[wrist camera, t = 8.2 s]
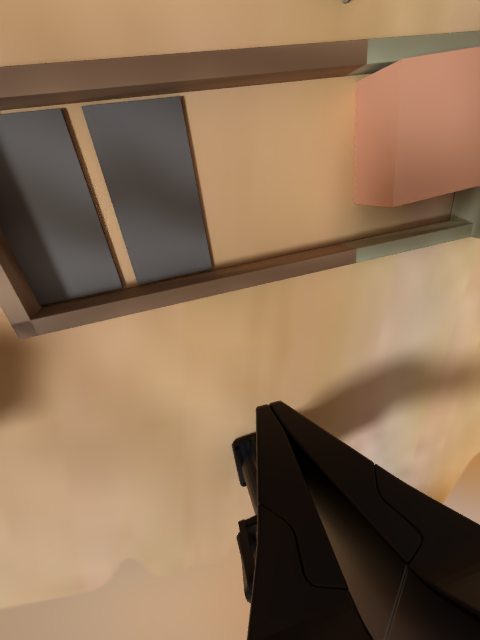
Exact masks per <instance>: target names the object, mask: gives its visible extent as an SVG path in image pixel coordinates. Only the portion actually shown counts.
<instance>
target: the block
mask: <svg viewBox="0 0 480 640" xmlns="http://www.w3.org/2000/svg"><path fill="white" fill-rule="evenodd" d="M476 186H480V46H479V47H473V48H467V49H460V50H454V51H448V52H442V53H435V54H429V55H423V56H417V57H410V58H404V59H401V60H399V61H397V62H395V63H393V64H391V65H389V66H387V67H385V68H383V69H381V70H379V71H377V72H375V73H373V74H371V75H369V76H367V77H365V78H363V79H361V80H359V81H357V82H356V110H355V204H363V205H373V206H383V207H396V206H400V205H404V204H408V203H412V202H416V201H420V200H424V199H428V198H432V197H436V196H440V195H444V194H448V193H452V192H456V191H460V190H464V189H468V188H472V187H476Z"/></svg>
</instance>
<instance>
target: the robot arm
mask: <svg viewBox="0 0 480 640" xmlns="http://www.w3.org/2000/svg"><path fill="white" fill-rule="evenodd" d="M232 448H233V453H234V458H235V462H236V467H237V471H238V476H239V481H240V484H241V486H243V487H244V486H247V488H248V492H249V495H250V498H251V501H252V505H253V508H254V511H255V516H253V517H251V518H249V519H246V520H244V519H243V520H241V521H239V522H238V524H239V529H240V532H239V533H238V535H237V541H238V545H239V549H240V554H241V560H242V569H243V581H244V592H245V596H246V599H247V601H248V602H249V603H251V608H250V617H249V626H248V636H247V640H480V525H479V524H477V523H476V522H474V521H472V520H470V519H468V518H467V517H465V516H463V515H461V514H459V513H458V512H456V511H454V510H452V509H450V508H448V507H447V506H445V505H443V504H441V503H440V502H438V501H436V500H434V499H432V498H431V497H429V496H427V495H425V494H424V493H422V492H420V491H418V490H417V489H415V488H413V487H411V486H410V485H408V484H406V483H405V482H403V481H402V480H400V479H399V478H397V477H395V476H394V475H392V474H391V473H389V472H388V471H386V470H385V469H383V468H381V467H380V466H378V465H377V464H375V465H374V463H373V462H372V461H371V460H369V459H368V458H366V457H365V456H363V455H362V454H360V453H359V452H357V451H356V450H354V449H353V448H351V447H350V446H348V445H347V444H345V443H344V442H342V441H341V440H339V439H338V438H336V437H335V436H333V435H332V434H330V433H329V432H327V431H326V430H324V429H323V428H321V427H320V426H318V425H316V424H315V423H313V422H312V421H310V420H309V419H307V418H306V417H304V416H303V415H301V414H300V413H298V412H297V411H295V410H294V409H292V408H291V407H289V406H288V405H286V404H285V403H283V402H282V401H276V402H273V403H270V404H269V405H267V404H266V405H262V406H258V407H257V408H256V435H253V436H249V437H246V438H243V439H240V440H237V441H235V442H233V444H232Z"/></svg>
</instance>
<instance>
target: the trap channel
mask: <svg viewBox="0 0 480 640" xmlns="http://www.w3.org/2000/svg"><path fill="white" fill-rule="evenodd" d="M479 46H480V31H469V32H456V33H443V34H429V35H416V36H403V37H390V38H376V39H363V40H350V41H336V42H323V43H310V44H297V45H283V46H270V47H257V48H244V49H230V50H217V51H204V52H191V53H177V54H164V55H151V56H137V57H124V58H111V59H98V60H84V61H71V62H58V63H45V64H31V65H18V66H5V67H0V110H9V109H19V108H29V107H39V106H49V105H59V104H70V103H80V102H90V101H100V100H110V99H120V98H130V97H140V96H150V95H160V94H170V93H180V92H190V91H200V90H210V89H220V88H231V87H241V86H251V85H261V84H271V83H281V82H291V81H301V80H311V79H321V78H331V77H341V76H351V75H361V74H371V73H375V72H377V71H379V70H381V69H383V68H385V67H387V66H389V65H391V64H393V63H395V62H397V61H399V60H401V59H404V58H410V57H417V56H423V55H429V54H435V53H442V52H448V51H454V50H460V49H467V48H473V47H479ZM81 107H82V110H83V113H84V116H85V119H86V122H87V126H88V129H89V132H90V135H91V138H92V141H93V144H94V148H95V151H96V154H97V157H98V160H99V163H100V166H101V170H102V173H103V176H104V179H105V182H106V185H107V188H108V192H109V195H110V198H111V201H112V204H113V207H114V210H115V214H116V217H117V220H118V223H119V226H120V229H121V232H122V235H123V239H124V242H125V245H126V248H127V251H128V254H129V257H130V261H131V264H132V267H133V270H134V273H135V276H136V279H137V283H138V285H139V284H143V283H148V282H153V281H158V280H162V279H167V278H172V277H177V276H181V275H186V274H191V273H195V272H200V271H205V270H210V269H212V266H211V260H210V255H209V250H208V244H207V239H206V233H205V228H204V223H203V217H202V212H201V207H200V201H199V196H198V191H197V185H196V180H195V174H194V169H193V164H192V158H191V153H190V148H189V142H188V137H187V131H186V126H185V121H184V115H183V110H182V105H181V99H180V96H178V97H168V98H158V99H148V100H138V101H128V102H119V103H109V104H99V105H89V106H81ZM467 237H475V238H480V186H476V187H472V188H468V189H464V190H460V191H456V192H455V196H454V201H453V206H452V211H451V217H450V220H449V221H445V222H440V223H435V224H430V225H426V226H421V227H416V228H412V229H407V230H402V231H398V232H393V233H388V234H384V235H379V236H374V237H369V238H365V239H360V240H355V241H351V242H346V243H341V244H337V245H332V246H327V247H322V248H318V249H313V250H308V251H304V252H299V253H294V254H290V255H285V256H280V257H275V258H271V259H266V260H261V261H257V262H252V263H247V264H243V265H238V266H233V267H228V268H224V269H219V270H214V271H210V272H205V273H200V274H196V275H191V276H186V277H181V278H177V279H172V280H167V281H163V282H158V283H153V284H149V285H144V286H139V287H135V288H130V289H125V290H120V291H116V292H111V293H106V294H102V295H97V296H92V297H88V298H83V299H78V300H73V301H69V302H64V303H59V304H55V305H50V306H45V307H42V305H44V304H49V303H54V302H58V301H63V300H68V299H73V298H77V297H82V296H87V295H91V294H96V293H101V292H106V291H110V290H115V289H120V288H123V286H122V283H121V280H120V277H119V274H118V272H117V269H116V266H115V263H114V260H113V257H112V254H111V251H110V248H109V246H108V243H107V240H106V237H105V234H104V231H103V228H102V225H101V222H100V220H99V217H98V214H97V211H96V208H95V205H94V202H93V199H92V197H91V194H90V191H89V188H88V185H87V182H86V179H85V176H84V173H83V171H82V168H81V165H80V162H79V159H78V156H77V153H76V150H75V147H74V145H73V142H72V139H71V136H70V133H69V130H68V127H67V124H66V121H65V119H64V116H63V113H62V110H61V109H50V110H40V111H30V112H20V113H10V114H1V115H0V306H1V308H2V309H3V311H4V313H5V315H6V316H7V318H8V320H9V322H10V323H11V325H12V327H13V329H14V330H15V332H16V334H17V335H18V337H19V339H25V338H29V337H33V336H38V335H42V334H46V333H51V332H55V331H60V330H64V329H68V328H73V327H77V326H81V325H86V324H90V323H95V322H99V321H103V320H108V319H112V318H117V317H121V316H125V315H130V314H134V313H138V312H143V311H147V310H152V309H156V308H160V307H165V306H169V305H173V304H178V303H182V302H187V301H191V300H195V299H200V298H204V297H209V296H213V295H217V294H222V293H226V292H230V291H235V290H239V289H244V288H248V287H252V286H257V285H261V284H265V283H270V282H274V281H279V280H283V279H287V278H292V277H296V276H301V275H305V274H309V273H314V272H318V271H322V270H327V269H331V268H336V267H340V266H344V265H349V264H353V263H357V262H362V261H366V260H371V259H375V258H379V257H384V256H388V255H393V254H397V253H401V252H406V251H410V250H414V249H419V248H423V247H428V246H432V245H436V244H441V243H445V242H449V241H454V240H458V239H463V238H467Z"/></svg>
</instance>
